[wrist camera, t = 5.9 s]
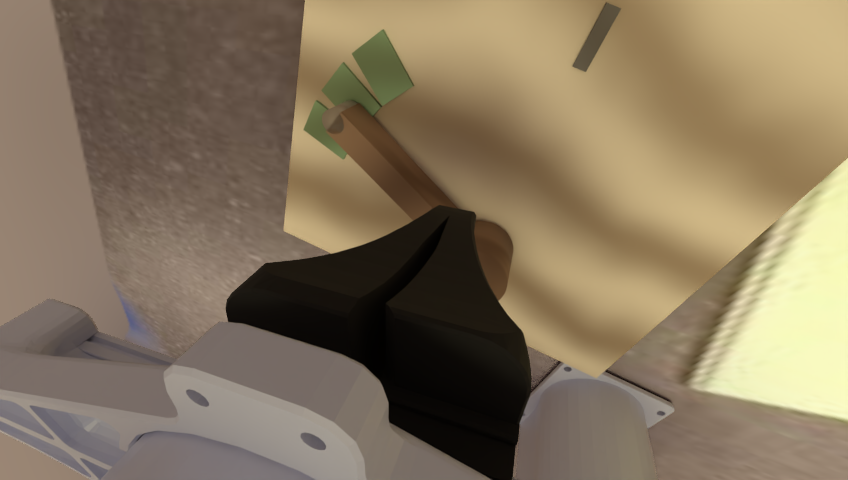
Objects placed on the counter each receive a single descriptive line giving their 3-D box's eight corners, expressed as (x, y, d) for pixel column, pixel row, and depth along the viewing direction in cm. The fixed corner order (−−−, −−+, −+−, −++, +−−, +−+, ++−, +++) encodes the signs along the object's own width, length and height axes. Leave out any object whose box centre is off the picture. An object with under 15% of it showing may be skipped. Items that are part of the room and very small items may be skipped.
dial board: (594, 364, 26) (596, 380, 24) (293, 222, 27) (282, 232, 26) (970, 18, 12) (1012, 19, 11) (343, -222, 14) (324, -242, 13)
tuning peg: (526, 253, 21) (521, 288, 18) (479, 280, 23) (469, 315, 20) (364, 77, 18) (332, 89, 16) (327, 125, 20) (294, 143, 18)
